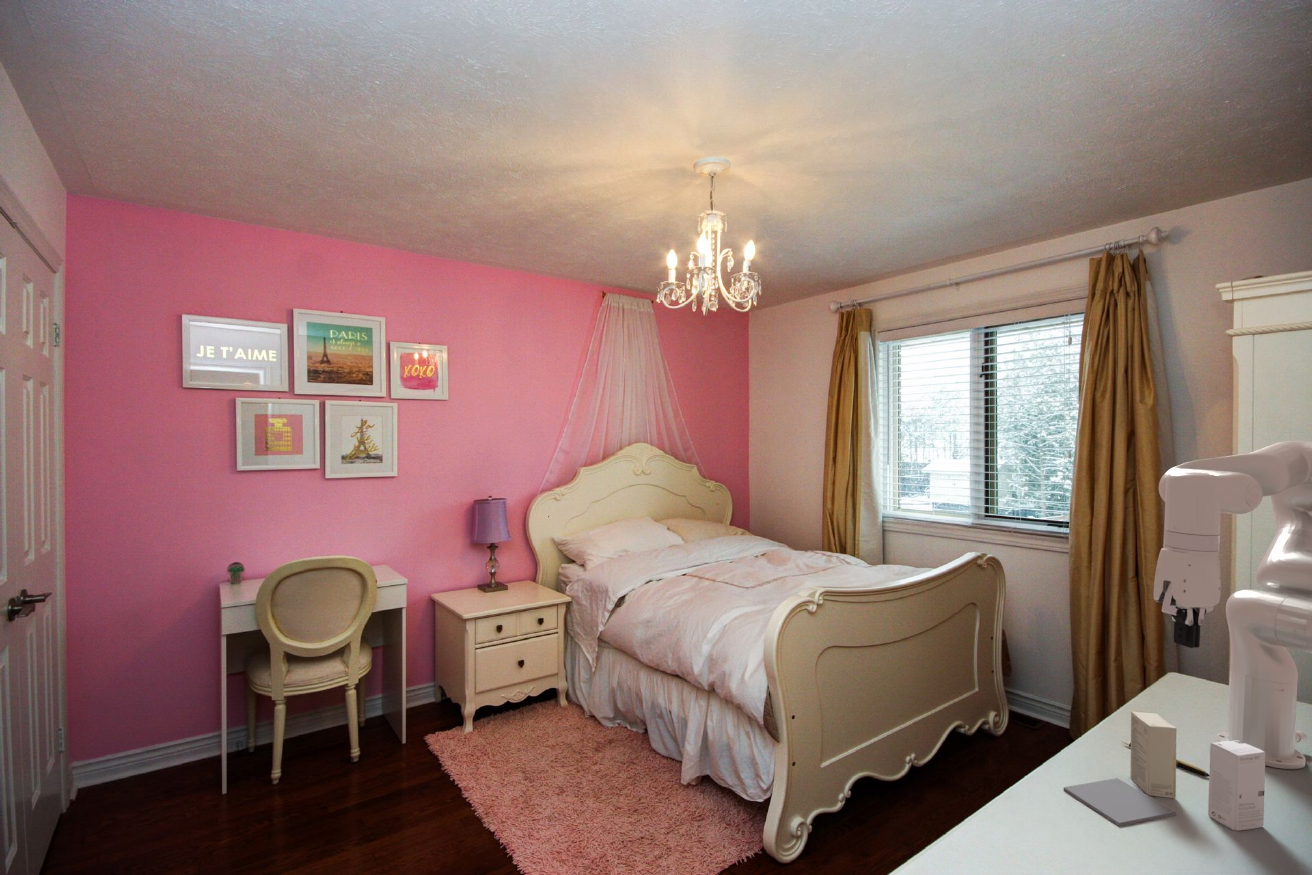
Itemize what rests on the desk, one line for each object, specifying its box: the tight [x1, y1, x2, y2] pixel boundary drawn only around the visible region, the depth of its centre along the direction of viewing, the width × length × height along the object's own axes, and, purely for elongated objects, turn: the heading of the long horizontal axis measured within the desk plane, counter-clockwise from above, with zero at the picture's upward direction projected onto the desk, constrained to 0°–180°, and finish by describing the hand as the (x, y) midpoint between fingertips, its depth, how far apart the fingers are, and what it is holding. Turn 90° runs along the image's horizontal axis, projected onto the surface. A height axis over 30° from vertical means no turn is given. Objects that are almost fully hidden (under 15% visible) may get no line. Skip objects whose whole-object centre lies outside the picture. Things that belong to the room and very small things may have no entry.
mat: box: [1063, 777, 1177, 827], centre depth 107 cm, size 12×10×1 cm
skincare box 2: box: [1207, 740, 1266, 831], centre depth 102 cm, size 6×4×12 cm
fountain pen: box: [1121, 741, 1210, 778], centre depth 121 cm, size 14×1×2 cm, turn 31°
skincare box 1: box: [1129, 710, 1177, 799], centre depth 112 cm, size 6×4×12 cm
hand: (1186, 644), depth 113 cm, fingers closed
